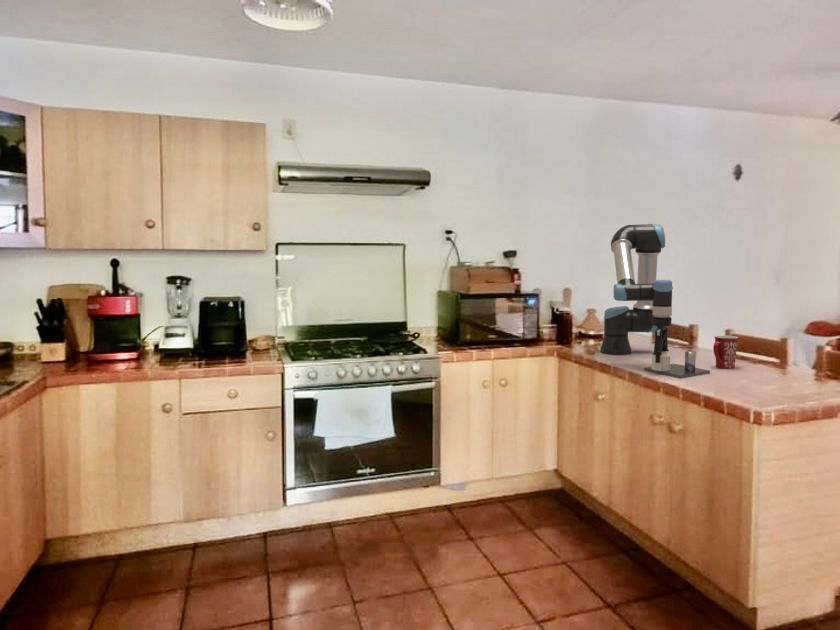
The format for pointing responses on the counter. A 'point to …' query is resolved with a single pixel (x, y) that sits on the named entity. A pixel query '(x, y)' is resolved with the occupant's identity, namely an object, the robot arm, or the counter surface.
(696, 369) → the post base
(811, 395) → the counter surface
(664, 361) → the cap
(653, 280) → the robot arm
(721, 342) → the mug
